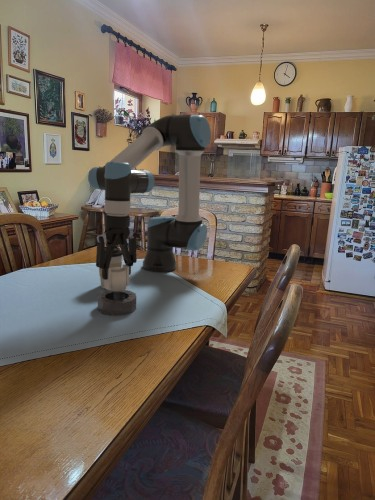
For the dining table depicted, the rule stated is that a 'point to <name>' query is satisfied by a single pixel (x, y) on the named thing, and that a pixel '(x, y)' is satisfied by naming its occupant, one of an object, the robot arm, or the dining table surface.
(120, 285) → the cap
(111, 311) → the dark round ashtray
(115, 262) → the coffee cup
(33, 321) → the dining table surface
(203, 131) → the robot arm
